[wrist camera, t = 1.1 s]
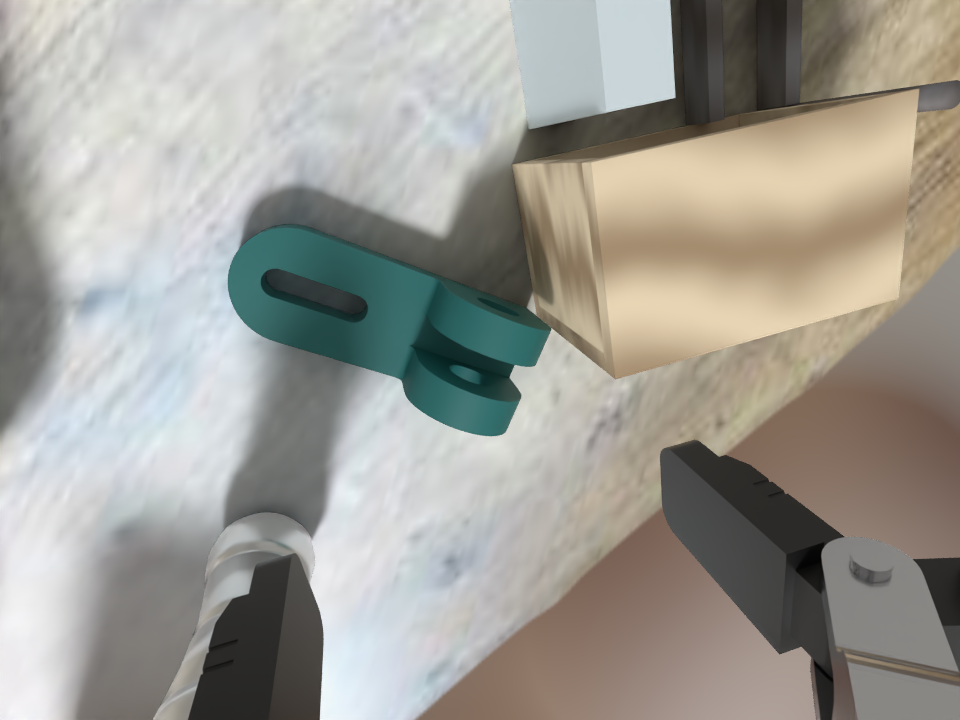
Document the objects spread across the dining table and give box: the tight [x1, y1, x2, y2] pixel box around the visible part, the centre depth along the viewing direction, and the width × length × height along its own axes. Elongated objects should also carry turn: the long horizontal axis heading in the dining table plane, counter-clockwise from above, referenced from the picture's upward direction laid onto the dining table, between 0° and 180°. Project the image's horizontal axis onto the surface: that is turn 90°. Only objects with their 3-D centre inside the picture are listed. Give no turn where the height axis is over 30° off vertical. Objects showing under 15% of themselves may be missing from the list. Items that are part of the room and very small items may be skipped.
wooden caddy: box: [512, 0, 960, 379], centre depth 29 cm, size 22×18×12 cm
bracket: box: [228, 224, 551, 436], centre depth 31 cm, size 18×7×8 cm, turn 67°
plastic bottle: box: [153, 512, 315, 720], centre depth 29 cm, size 6×7×20 cm
